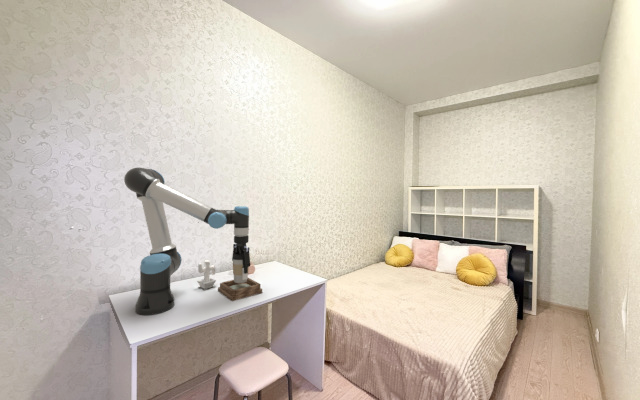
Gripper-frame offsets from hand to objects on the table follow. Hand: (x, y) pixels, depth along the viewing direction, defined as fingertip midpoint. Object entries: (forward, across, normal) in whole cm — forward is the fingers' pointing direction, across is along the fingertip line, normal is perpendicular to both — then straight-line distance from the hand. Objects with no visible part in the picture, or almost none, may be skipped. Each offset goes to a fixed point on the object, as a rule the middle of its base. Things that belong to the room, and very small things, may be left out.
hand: (240, 276), depth 141 cm
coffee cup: (+2, 0, 0) cm, 2 cm away
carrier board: (+8, 0, 0) cm, 8 cm away
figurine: (+8, +18, +11) cm, 23 cm away
